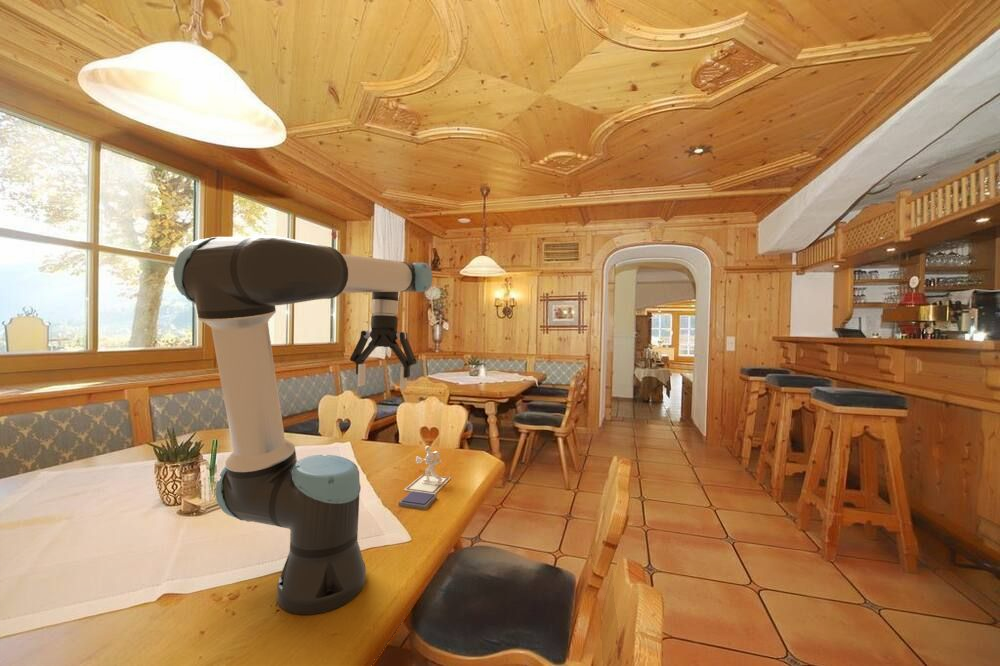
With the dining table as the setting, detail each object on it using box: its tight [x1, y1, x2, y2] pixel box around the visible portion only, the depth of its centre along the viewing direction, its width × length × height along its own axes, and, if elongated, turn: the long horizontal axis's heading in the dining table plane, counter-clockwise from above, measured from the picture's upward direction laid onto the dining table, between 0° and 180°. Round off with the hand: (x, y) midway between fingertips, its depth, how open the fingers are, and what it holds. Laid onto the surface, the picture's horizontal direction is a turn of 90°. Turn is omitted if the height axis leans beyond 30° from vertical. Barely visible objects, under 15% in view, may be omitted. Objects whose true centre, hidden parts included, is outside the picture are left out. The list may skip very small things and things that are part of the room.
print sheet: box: [403, 473, 452, 495], centre depth 126 cm, size 14×10×1 cm
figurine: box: [415, 445, 443, 486], centre depth 126 cm, size 5×9×12 cm, turn 87°
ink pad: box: [398, 491, 437, 511], centre depth 112 cm, size 8×8×1 cm
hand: (381, 387), depth 116 cm, fingers open, 13 cm apart
